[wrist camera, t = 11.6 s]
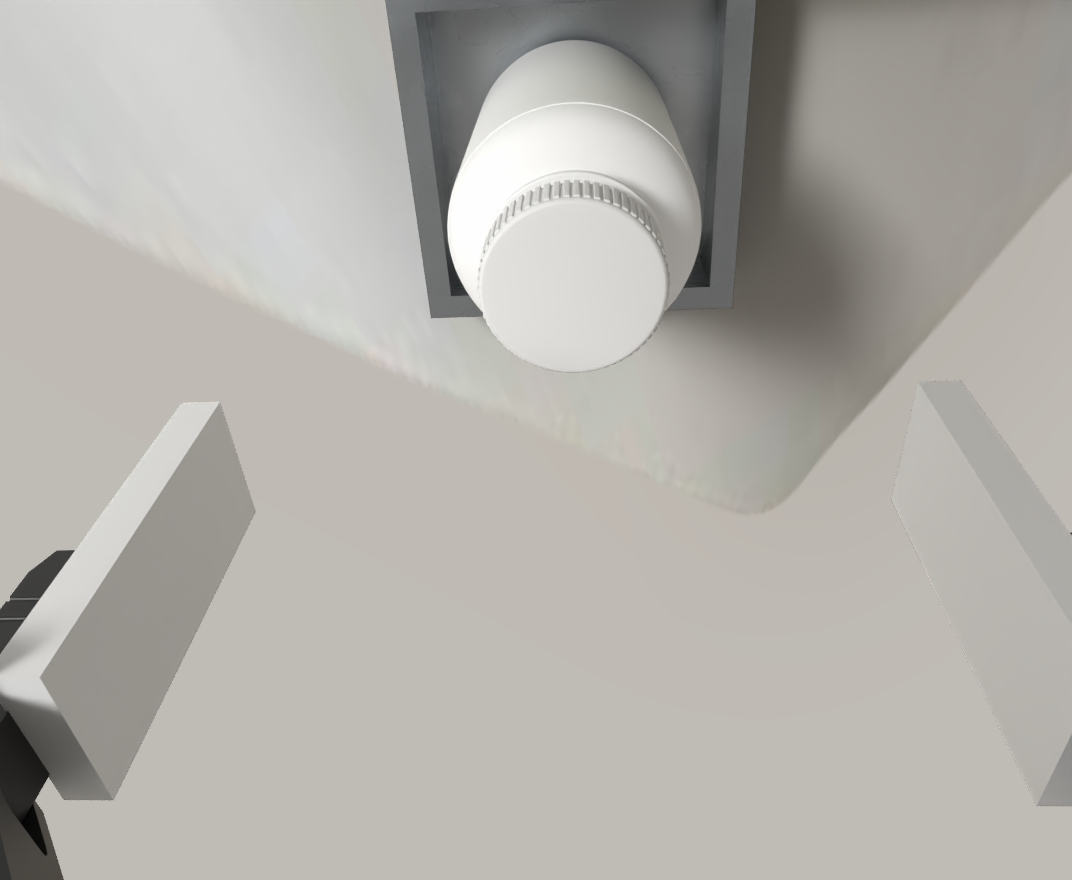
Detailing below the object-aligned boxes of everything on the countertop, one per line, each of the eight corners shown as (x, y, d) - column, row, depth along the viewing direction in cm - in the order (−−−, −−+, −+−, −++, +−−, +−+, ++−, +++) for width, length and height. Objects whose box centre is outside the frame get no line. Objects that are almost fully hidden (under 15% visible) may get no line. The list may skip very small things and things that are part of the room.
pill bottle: (623, 257, 38) (643, 446, 26) (454, 192, 37) (389, 359, 24) (704, 82, 34) (775, 209, 21) (516, 2, 32) (475, 87, 20)
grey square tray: (442, 284, 40) (431, 318, 37) (400, -29, 32) (382, -18, 30) (721, 274, 39) (732, 307, 36) (743, -51, 31) (759, -42, 29)
